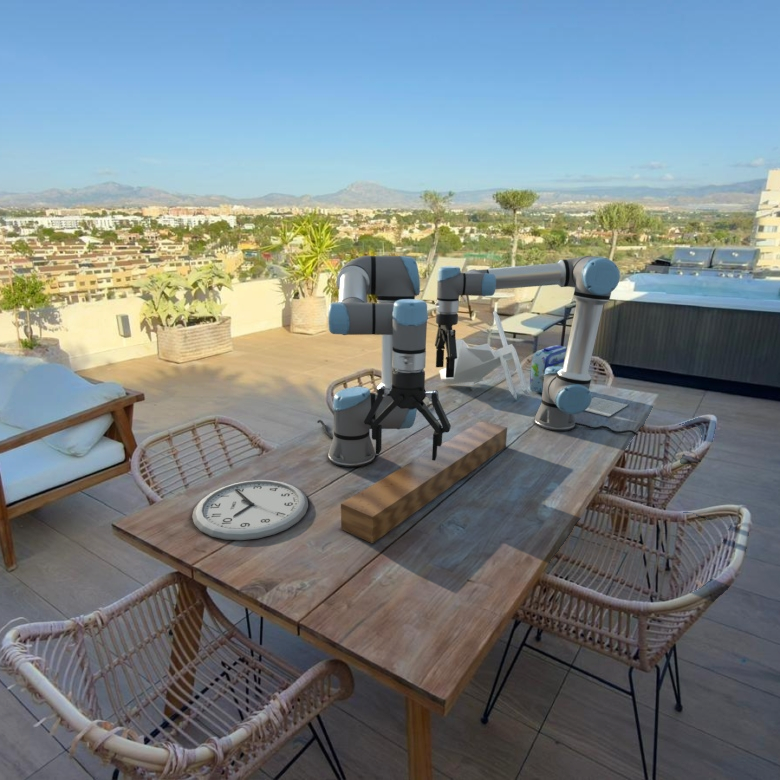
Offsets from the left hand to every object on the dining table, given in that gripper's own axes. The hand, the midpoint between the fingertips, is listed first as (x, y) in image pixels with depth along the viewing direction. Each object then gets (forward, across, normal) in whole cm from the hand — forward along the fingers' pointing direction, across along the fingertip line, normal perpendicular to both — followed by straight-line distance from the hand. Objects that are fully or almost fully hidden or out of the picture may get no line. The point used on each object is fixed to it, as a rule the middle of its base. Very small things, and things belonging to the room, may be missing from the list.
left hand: (406, 455), depth 125 cm
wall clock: (+21, -42, +1) cm, 47 cm away
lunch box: (+21, +44, +135) cm, 144 cm away
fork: (+21, -9, +97) cm, 99 cm away
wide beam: (+21, +4, +29) cm, 36 cm away
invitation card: (+21, +64, +116) cm, 134 cm away
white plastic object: (+21, +11, +123) cm, 125 cm away
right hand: (-3, +1, +67) cm, 67 cm away
